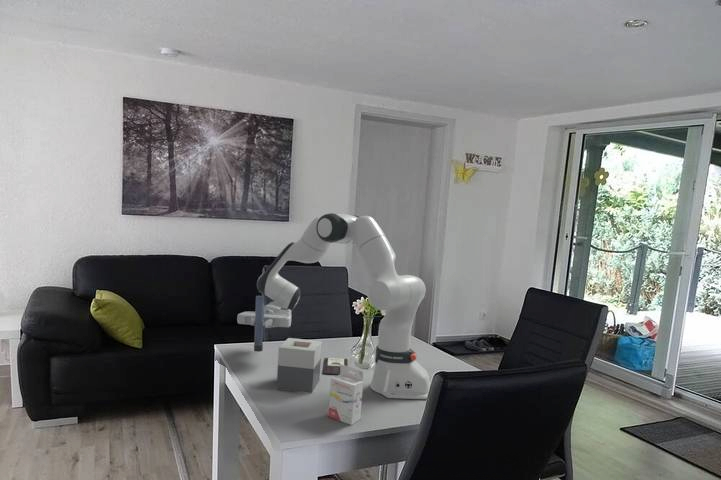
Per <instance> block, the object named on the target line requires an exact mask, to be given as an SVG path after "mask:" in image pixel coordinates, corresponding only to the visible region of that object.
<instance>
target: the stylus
mask: <svg viewBox="0 0 721 480" xmlns="http://www.w3.org/2000/svg"><path fill="white" fill-rule="evenodd" d="M264 306H265V295H256V296H255V309H254V310H255V311H254V312H255V326H254V338H253V339H254V341H253V351H254V352H263V348H264V346H263V345H264V344H263V342H264V341H263V340H264V327H263V326H262V325H263V324H262V322H263V320H264Z"/></svg>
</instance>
